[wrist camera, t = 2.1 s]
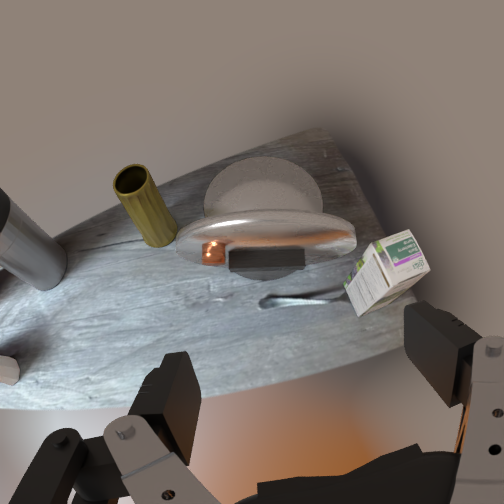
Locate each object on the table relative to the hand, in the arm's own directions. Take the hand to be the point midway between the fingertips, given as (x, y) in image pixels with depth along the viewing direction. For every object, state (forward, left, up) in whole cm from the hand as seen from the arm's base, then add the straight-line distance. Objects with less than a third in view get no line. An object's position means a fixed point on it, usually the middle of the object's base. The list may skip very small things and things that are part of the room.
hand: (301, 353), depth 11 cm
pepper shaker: (-46, -2, -34) cm, 57 cm away
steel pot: (-1, +23, -34) cm, 41 cm away
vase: (-18, +24, -34) cm, 45 cm away
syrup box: (+14, +12, -34) cm, 39 cm away
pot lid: (-1, +13, -16) cm, 21 cm away
